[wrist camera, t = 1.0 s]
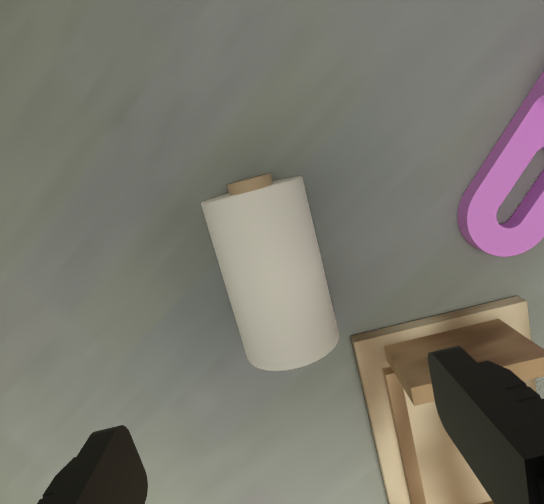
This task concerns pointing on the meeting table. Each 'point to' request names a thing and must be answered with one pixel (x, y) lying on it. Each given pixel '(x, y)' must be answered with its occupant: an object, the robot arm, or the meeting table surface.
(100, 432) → the robot arm
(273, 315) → the roll
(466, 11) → the meeting table surface
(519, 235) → the bracket
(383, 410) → the cradle
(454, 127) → the meeting table surface
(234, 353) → the meeting table surface
